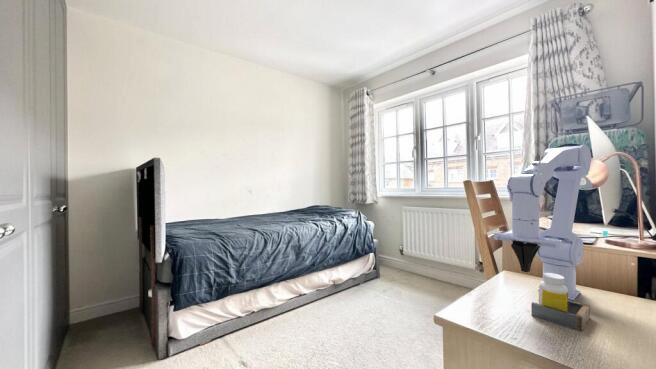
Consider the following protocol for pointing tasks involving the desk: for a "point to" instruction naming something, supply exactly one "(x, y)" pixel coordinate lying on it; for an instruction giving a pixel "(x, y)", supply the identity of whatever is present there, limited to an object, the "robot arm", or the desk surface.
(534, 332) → the desk surface
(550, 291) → the supplement bottle
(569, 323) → the bracket
